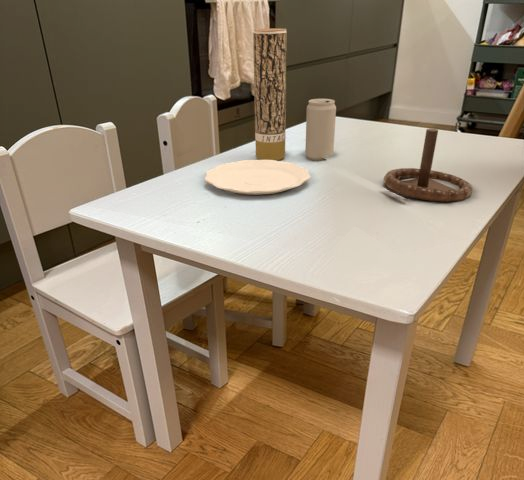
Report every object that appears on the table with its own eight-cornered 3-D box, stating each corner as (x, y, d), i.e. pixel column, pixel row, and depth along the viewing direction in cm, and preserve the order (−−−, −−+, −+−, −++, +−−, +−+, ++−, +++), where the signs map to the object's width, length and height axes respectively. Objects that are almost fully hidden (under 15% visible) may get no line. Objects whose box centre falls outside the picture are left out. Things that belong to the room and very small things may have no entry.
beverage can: (329, 162, 112) (333, 103, 105) (301, 160, 113) (303, 102, 106) (335, 155, 116) (339, 98, 109) (308, 153, 118) (310, 97, 111)
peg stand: (424, 183, 99) (435, 122, 93) (456, 196, 93) (470, 132, 86) (387, 189, 96) (395, 127, 90) (417, 204, 90) (428, 138, 83)
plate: (239, 162, 112) (239, 155, 111) (325, 174, 104) (325, 166, 103) (185, 189, 98) (184, 181, 97) (280, 206, 89) (280, 197, 88)
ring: (431, 176, 103) (434, 166, 102) (488, 200, 91) (492, 189, 90) (367, 178, 97) (369, 168, 96) (418, 205, 85) (421, 193, 84)
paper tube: (250, 156, 116) (247, 29, 102) (276, 152, 119) (276, 28, 104) (264, 163, 112) (262, 31, 97) (290, 159, 114) (292, 29, 99)
